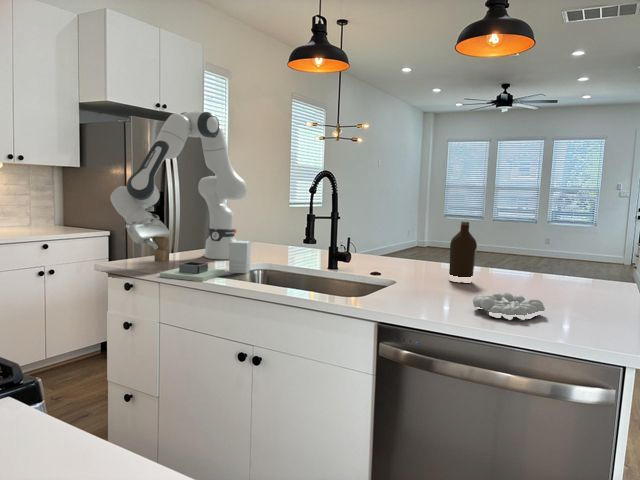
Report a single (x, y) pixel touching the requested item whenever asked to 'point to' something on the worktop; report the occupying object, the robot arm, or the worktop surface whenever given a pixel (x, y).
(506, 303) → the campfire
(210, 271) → the jar plate
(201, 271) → the dark grey square tray
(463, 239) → the olive oil
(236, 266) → the supplement box
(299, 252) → the worktop surface
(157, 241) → the brown wooden block
